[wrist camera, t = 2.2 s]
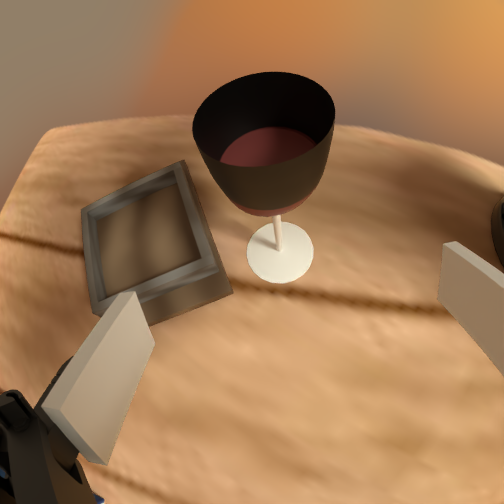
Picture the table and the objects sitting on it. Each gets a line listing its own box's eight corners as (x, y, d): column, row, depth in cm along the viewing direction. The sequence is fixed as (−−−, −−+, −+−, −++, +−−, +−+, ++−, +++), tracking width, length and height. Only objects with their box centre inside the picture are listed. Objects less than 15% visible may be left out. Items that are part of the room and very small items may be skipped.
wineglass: (329, 236, 34) (356, 93, 16) (290, 301, 32) (288, 191, 13) (269, 207, 36) (247, 62, 18) (229, 265, 34) (163, 139, 16)
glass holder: (186, 164, 41) (178, 147, 38) (233, 293, 33) (226, 283, 29) (90, 210, 40) (77, 197, 37) (110, 340, 32) (93, 335, 29)
